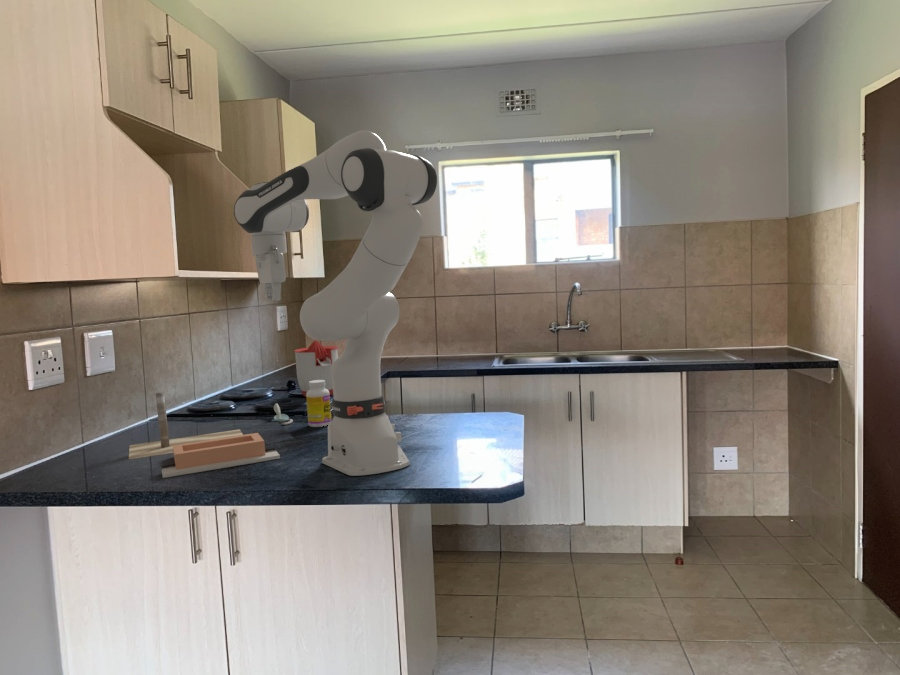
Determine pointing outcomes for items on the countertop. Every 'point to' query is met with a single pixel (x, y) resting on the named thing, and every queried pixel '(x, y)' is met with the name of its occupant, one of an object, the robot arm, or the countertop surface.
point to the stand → (166, 444)
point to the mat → (218, 464)
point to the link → (218, 450)
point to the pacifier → (281, 416)
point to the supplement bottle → (318, 404)
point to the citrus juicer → (315, 365)
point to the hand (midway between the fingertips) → (273, 300)
